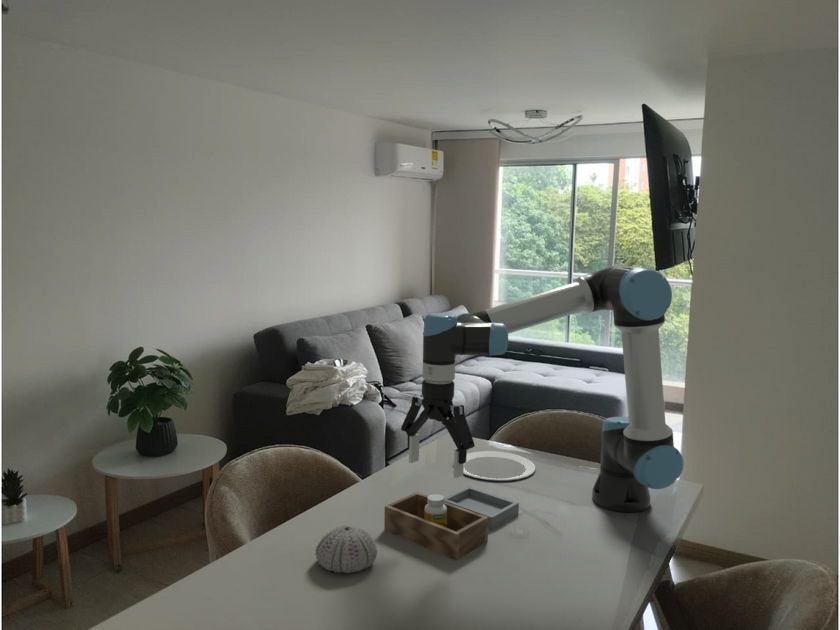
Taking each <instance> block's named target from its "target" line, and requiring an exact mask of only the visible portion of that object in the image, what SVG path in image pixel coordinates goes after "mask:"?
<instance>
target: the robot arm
mask: <svg viewBox="0 0 840 630" xmlns="http://www.w3.org/2000/svg"><path fill="white" fill-rule="evenodd" d="M672 299H673V292H672V287H671V285H670V282H669V280H668V279H667V278H666V277H665V276H664V275H663V274H662V273H660V272H658V271H657V270H654V269H652V268H649V267H645V266H633V265H626V264H624V265H623V264H617V265H611V266H608V267H605V268H602V269H599V270H596V271H593V272H590V273H588V274H585V275H581V276H579V277H577V278H576V280H575V281H574V282H572V283H568V284H565V285H562V286H559V287H556V288H552V289H548V290H546V291H542V292H539V293H536V294H532V295H530V296H526V297H522V298H519V299H517V300H513V301H509V302H506V303H503V304H499V305H497V306H494V307H490V308H487V309H484V310H480V311H476V312H473V313H470V312H469V313H468V312H467V313H466V312H465V313H460V314H458V315H457V316H456V315H455V314H453V313H449V312H448V313H447V312H446V313H445V312H444V313H443V312H432V313H429V314H427V315H426V316H425V317H424V322H423V324H424V325H423V332H422V336H423V337H422V339H423V340H422V374H421V375H422V376H421V377H422V379H423V380H422V382H421V394H418V395H415V396H412V397H411V405H410V408H409V409H408V411H407V413H406V416H405V418H404V420H403V422H402V425H401V426H400V427H401V428H400V430H401V431H402V432H405V433H406V435H407V448H409V449H408V463H409V464H413V463H416V462H418V461H419V458H420V457H419V456H420V434H418V433H419V430H420V429H421V428H422V427H423V425H425V423H426V422H427V421H428V420H435V421H437V422H441V424H442V425H443V426H444V427H445V428H446V431H447V432H448V434H449V435H450V438H451V439H452V441H453V442H454V445H455V446H456V448H455V449H454V453H453V456H454V458H453V462H454V463H453V478H455V479H457V478H460V477H462V476H464V474H463V472H464V468H465V464H466V463H467V462H466V456H467V454H468V450H469V449H470V450H471V449H473V448H474V447H475V441H474V438H473V436H472V433H471V430H470V427H469V426H470V425H469V424H468V421H467V418H466V414H465V413H466V412H465V406H464V405H463V404H460V405H454V403H453V399H454V397H455V382H454V381H455V379H456V356H489V357H490V356H491V357H492V356H500V355H504V354H505V353H506V351H507V349H508V346H509V345H508V344H509V334H512V333H516V332H519V331H521V330H524V329H527V328H531V327H532V328H533V327H535V326H538V325H541V324H544V323H548V322H551V321H554V320H557V319H561V318H565V317H567V316H570V315H574V314H578V313H580V312H585V313H588V314H590V313H594V312H598V311H612V313H613V324H614V325H613V326H614V327H616V329H618V330H619V331H620V332H621V333H620V334H621V344H622V354H623V355H622V356H623V365H624V366H623V367H624V369H623V370H624V380H625V391H626V401H627V402H626V404H627V415H628V416H612V417H611V416H610V417H607V418H605V419H604V420H603V423H602V429H601V448H600V449H601V450H600V469H599V473H598V476H597V477H596V480H595V482H594V485H593V488H592V492H591V499H592V501H593V502H594V503H595V504H596V505H598V506H600V507H602V508H604V509H608V510H611V511H614V512H615V511H616V512H622V513H639V512H643V511H645V510H648V509H649V508H650V507H651V493H650V490H649V489H651V490H663V489H666V488H668V487H671V486H672V485H673V484H675V482H676V481H677V479H679V478H680V476H681V475H682V473H683V470H684V462H685V461H684V457H683V456H682V454H681V452H680V450H679V449H678V448H676V447H675V443H674V442H675V441H674V433H673V429H672V428H671V427H670V426H669V425H668V424H667V423H666V414H665V413H666V412H665V400H664V399H665V398H664V386H663V371H662V359H661V357H662V356H661V345H660V344H661V343H660V342H661V341H660V331H659V330H660V328H661V327H662V326H663V325H664V324H665V321H666V318H665V316H666V315H665V314H666V313H667V312H668V308H670V307H671V304H672V301H673V300H672ZM421 407H422V408H423V410H422V411H421V412H420V410H421V409H422V408H421ZM419 412H420V414H419ZM418 414H419V416H418ZM417 416H418V417H417ZM464 463H465V464H464Z"/></svg>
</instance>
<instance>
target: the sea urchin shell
mask: <svg viewBox="0 0 840 630" xmlns="http://www.w3.org/2000/svg"><path fill="white" fill-rule="evenodd" d="M315 548H316V549H315V554H314V555H315V556H316V558H315V559H316V560H317V561H318V564H319V565H320V566H321V568H324V569H325V570H327V571H329V572H334V573H339V574H341V573H345V574H348V573H350V574H351V573H354V572H360V571H362V570H365V569H367V568H369V567H370V566H372V564H373V563H374V562H375V560H377V555H378V554H377V553H378V550H377V545H376V542H375V540H374V539H373V537H372V536H371V535H370V534H369V533H368V532H367V531H365V530H364V529H363V528H361V527H358V526H351V525H346V524H342V525H340V526H337V527H335V528H333V529H331V530H330V531H329V532H326V534H325V535H323V537H322V538H321V540H320V541H319V542H318V544H317V545H316V546H315Z"/></svg>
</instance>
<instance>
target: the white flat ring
mask: <svg viewBox="0 0 840 630" xmlns="http://www.w3.org/2000/svg"><path fill="white" fill-rule="evenodd" d="M477 457H478V458H488V457H489V458H491V457H493V458H501V459H502V458H503V459H508V460H511V461H515V462H516V463H517V462H518V463H519V464H521V465H522V466H523V465H524V466H523V468H524V471H525V472H524V471H523V472H522V473H521V474H522V475H521V474H519V475H520V476H519V475H516V476H513V477H506V478H505V477H504V478H501V477H500V478H497V477H496V478H497V479H496V478H495V477H486V476H481V477H480V475H477V474H474V473H472V472H470V471H468V470H467V469H466V468H465V467H464V472H463V476H464V475H465V476H467V477H469V478H474V479H477V480H482V481H489V482H512V481H518V480H521V479H526V478H528V477H530V476H532V475H533V474H534V473H535V471H536V465H535V464H534V463H533V461H531V460H529V458H526V457H523V456H521V455H518V454H514V453H510V452H503V451H493V450H492V451H491V450H489V451H487V450H486V451H485V450H484V451H483V450H482V451H473V452H467V456H466V463H467V462H469V461H471V460H473V459H478V458H477ZM466 463H464V465H466ZM465 469H466V470H465ZM525 469H526V470H525ZM467 471H468V472H467ZM469 472H470V473H469ZM471 473H472V474H471ZM473 474H474V475H473Z"/></svg>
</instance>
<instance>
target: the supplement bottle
mask: <svg viewBox="0 0 840 630" xmlns="http://www.w3.org/2000/svg"><path fill="white" fill-rule="evenodd" d="M427 496H428V497H427V503H428V504H427V505H426V506H425V509H424V519H425V520H428V521H430V522H433V523H435V524H438V525H440V526H443V527H446V528H447V508H446V506H445V505H444V498H445V497H444V496H443V495H442V494H438V493H435V494H430V495H427Z"/></svg>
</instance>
